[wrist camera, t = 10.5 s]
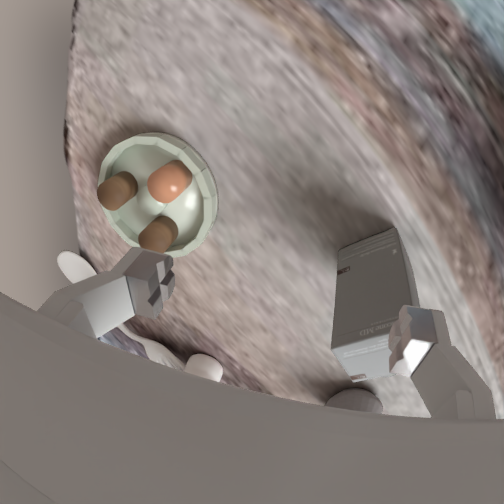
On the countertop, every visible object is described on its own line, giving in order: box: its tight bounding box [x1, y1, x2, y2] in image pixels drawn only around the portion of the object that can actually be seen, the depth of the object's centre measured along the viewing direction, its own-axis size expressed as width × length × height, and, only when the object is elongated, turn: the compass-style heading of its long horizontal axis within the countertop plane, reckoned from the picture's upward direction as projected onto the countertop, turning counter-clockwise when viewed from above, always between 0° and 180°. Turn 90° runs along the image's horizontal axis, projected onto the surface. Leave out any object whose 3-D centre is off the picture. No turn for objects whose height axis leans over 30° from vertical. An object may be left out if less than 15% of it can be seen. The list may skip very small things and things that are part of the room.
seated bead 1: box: [97, 171, 138, 211], centre depth 39 cm, size 4×4×4 cm
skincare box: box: [331, 227, 420, 382], centre depth 32 cm, size 8×7×16 cm
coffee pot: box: [325, 388, 383, 414], centre depth 51 cm, size 21×12×15 cm, turn 132°
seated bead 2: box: [138, 215, 179, 253], centre depth 41 cm, size 4×4×4 cm
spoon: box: [57, 250, 185, 370], centre depth 55 cm, size 9×32×4 cm, turn 39°
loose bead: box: [147, 160, 193, 203], centre depth 36 cm, size 4×4×4 cm
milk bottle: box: [184, 354, 223, 382], centre depth 49 cm, size 7×7×25 cm
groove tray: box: [98, 132, 219, 258], centre depth 40 cm, size 17×17×2 cm
